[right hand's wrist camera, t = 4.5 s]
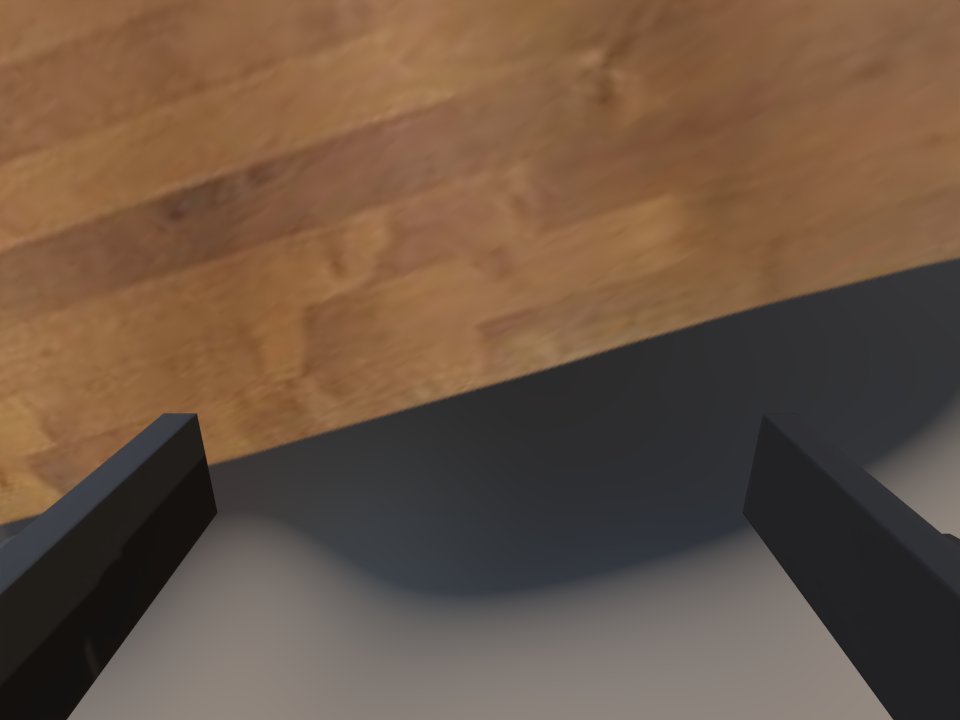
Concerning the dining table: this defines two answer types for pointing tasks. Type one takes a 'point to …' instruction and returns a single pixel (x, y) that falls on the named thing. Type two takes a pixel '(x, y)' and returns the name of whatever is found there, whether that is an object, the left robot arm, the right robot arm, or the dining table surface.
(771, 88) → the dining table surface
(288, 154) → the dining table surface
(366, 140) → the dining table surface
